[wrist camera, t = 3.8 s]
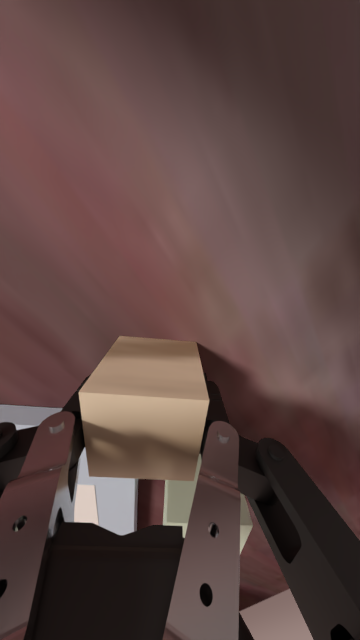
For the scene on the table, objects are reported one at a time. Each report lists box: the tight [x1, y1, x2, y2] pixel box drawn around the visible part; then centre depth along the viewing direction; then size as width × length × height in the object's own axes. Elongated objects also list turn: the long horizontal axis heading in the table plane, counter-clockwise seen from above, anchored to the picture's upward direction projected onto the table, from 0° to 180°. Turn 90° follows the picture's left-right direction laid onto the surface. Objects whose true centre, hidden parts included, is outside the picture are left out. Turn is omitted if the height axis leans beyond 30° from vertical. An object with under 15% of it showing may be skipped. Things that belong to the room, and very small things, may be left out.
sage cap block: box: [163, 454, 253, 553], centre depth 13 cm, size 5×5×5 cm
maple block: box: [79, 336, 209, 481], centre depth 10 cm, size 5×5×5 cm
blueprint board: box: [0, 404, 138, 535], centre depth 16 cm, size 20×14×2 cm
